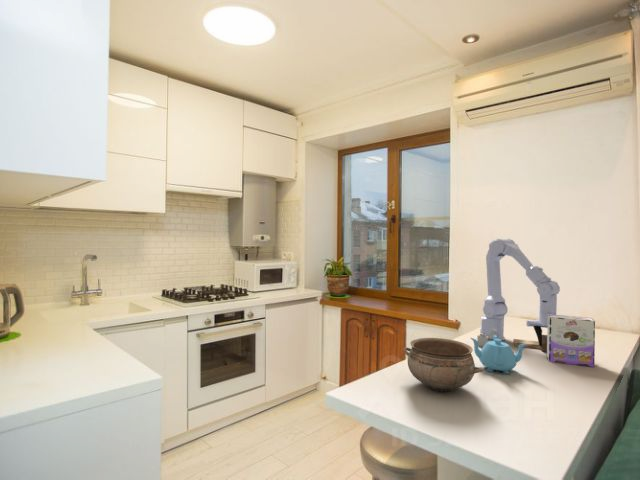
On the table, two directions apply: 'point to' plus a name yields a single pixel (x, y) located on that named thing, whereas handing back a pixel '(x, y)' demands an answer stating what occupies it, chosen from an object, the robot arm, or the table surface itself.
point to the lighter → (485, 338)
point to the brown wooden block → (544, 343)
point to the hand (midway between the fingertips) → (546, 346)
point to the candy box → (571, 340)
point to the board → (529, 343)
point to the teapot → (498, 355)
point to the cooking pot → (441, 363)
